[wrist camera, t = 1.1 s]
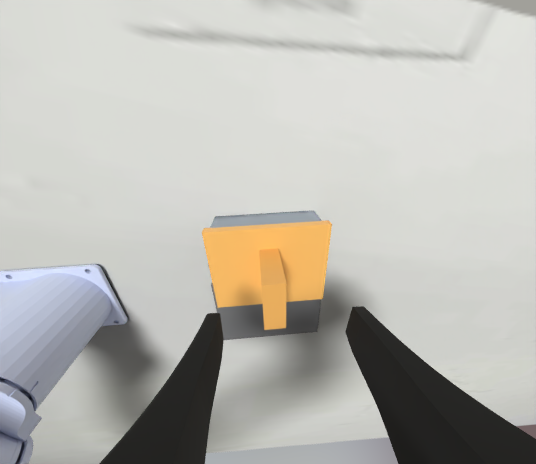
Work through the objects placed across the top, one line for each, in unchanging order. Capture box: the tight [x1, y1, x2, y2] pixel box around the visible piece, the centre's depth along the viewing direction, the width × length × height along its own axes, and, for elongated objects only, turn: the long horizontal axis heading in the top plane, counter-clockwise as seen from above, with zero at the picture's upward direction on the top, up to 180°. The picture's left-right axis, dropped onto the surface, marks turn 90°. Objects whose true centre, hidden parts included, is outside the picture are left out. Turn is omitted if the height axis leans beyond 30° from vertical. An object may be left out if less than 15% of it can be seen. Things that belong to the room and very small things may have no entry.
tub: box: [210, 211, 322, 228], centre depth 18 cm, size 9×7×3 cm
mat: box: [211, 283, 321, 340], centre depth 23 cm, size 12×9×1 cm
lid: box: [202, 220, 332, 330], centre depth 15 cm, size 10×8×6 cm
